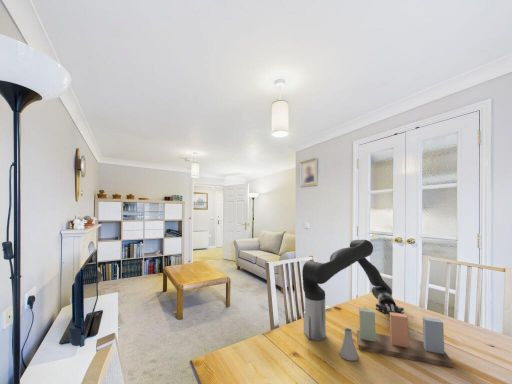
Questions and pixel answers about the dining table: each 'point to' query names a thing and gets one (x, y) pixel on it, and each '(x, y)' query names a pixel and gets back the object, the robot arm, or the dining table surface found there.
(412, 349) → the brown wooden flat board
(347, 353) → the flask
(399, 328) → the terracotta tab
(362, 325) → the sage tab
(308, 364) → the dining table surface
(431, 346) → the slate tab
